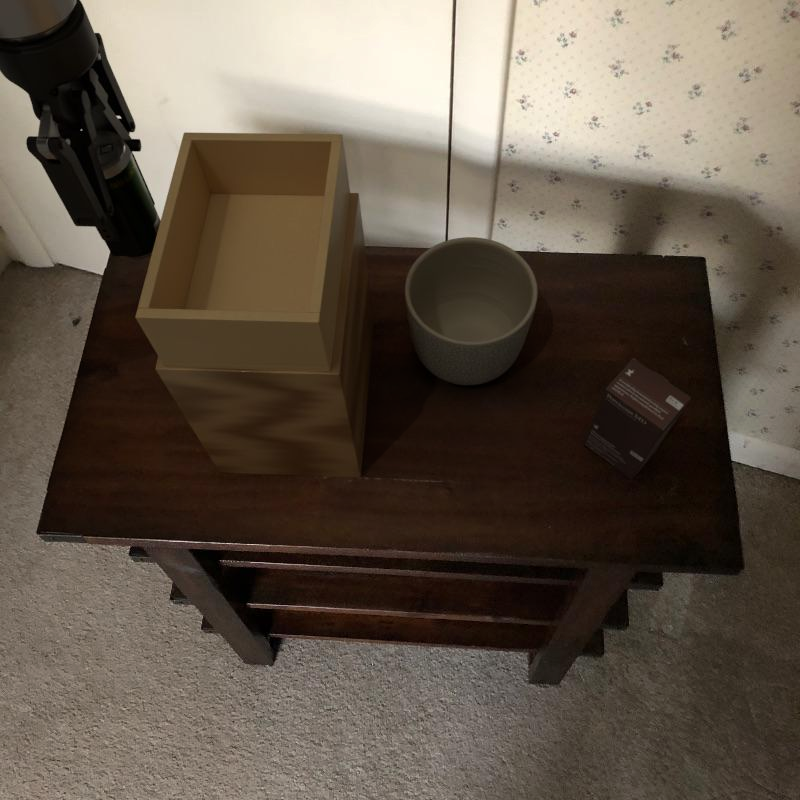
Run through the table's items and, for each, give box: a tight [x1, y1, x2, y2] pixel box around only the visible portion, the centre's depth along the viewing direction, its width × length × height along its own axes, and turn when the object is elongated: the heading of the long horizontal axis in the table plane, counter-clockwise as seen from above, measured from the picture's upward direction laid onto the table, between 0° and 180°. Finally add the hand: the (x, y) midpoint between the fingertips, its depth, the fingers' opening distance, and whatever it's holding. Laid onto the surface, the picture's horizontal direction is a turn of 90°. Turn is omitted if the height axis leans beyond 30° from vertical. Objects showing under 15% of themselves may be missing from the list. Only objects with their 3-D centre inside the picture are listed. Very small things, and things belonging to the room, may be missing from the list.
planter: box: [404, 236, 539, 386], centre depth 76 cm, size 12×12×11 cm
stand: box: [154, 192, 375, 479], centre depth 70 cm, size 14×18×20 cm
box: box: [582, 357, 692, 481], centre depth 70 cm, size 6×4×12 cm
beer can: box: [93, 130, 161, 261], centre depth 72 cm, size 5×5×12 cm
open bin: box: [135, 132, 351, 372], centre depth 59 cm, size 13×18×7 cm
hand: (134, 228), depth 76 cm, fingers closed on beer can, 5 cm apart
